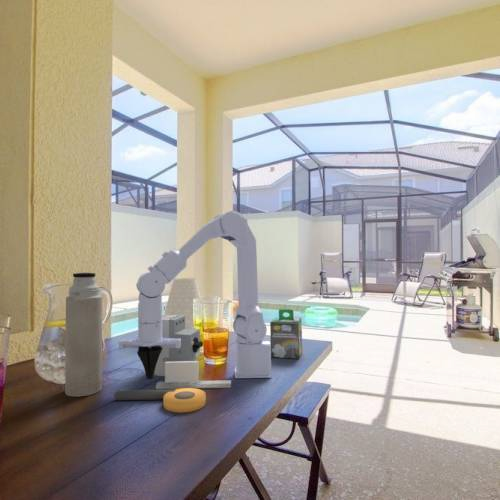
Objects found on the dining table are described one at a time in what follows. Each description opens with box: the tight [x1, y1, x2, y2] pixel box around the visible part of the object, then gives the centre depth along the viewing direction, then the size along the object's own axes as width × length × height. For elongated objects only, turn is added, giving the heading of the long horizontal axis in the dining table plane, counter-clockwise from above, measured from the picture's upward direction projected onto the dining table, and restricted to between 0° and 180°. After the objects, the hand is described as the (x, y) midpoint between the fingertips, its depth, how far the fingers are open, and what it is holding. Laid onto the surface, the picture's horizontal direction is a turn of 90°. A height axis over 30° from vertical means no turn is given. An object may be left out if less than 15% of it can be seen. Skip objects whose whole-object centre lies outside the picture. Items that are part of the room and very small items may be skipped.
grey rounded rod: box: [113, 389, 176, 401], centre depth 83 cm, size 14×2×2 cm, turn 93°
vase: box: [163, 277, 202, 329], centre depth 147 cm, size 17×17×23 cm
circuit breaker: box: [154, 314, 204, 377], centre depth 103 cm, size 8×14×15 cm, turn 78°
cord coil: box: [162, 388, 207, 414], centre depth 80 cm, size 9×9×2 cm
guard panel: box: [164, 360, 199, 383], centre depth 91 cm, size 8×1×5 cm, turn 93°
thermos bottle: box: [64, 272, 103, 398], centre depth 89 cm, size 8×8×28 cm
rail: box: [155, 379, 232, 390], centre depth 91 cm, size 18×2×1 cm, turn 93°
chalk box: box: [269, 308, 303, 360], centre depth 120 cm, size 9×9×15 cm
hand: (150, 377), depth 90 cm, fingers closed
